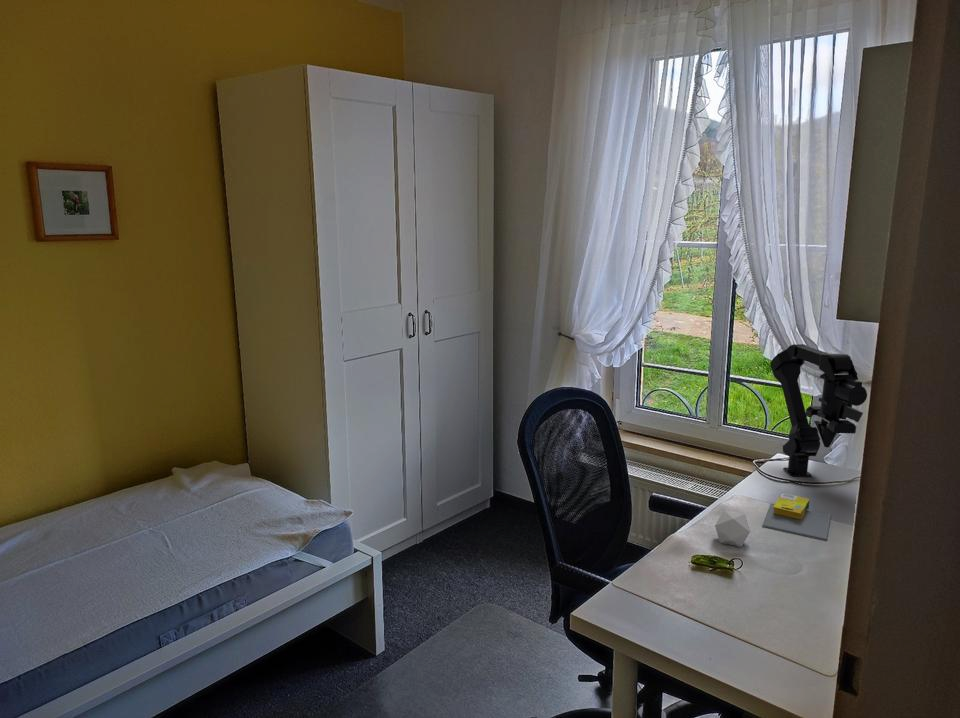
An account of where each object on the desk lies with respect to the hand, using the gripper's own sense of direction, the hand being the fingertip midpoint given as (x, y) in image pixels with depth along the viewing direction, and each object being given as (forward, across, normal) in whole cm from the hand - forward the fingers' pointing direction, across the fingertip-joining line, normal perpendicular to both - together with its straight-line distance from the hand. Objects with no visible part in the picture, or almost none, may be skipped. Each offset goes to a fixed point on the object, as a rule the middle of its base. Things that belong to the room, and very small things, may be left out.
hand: (826, 447), depth 206 cm
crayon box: (+11, -14, +14) cm, 23 cm away
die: (+13, -36, +40) cm, 55 cm away
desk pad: (+13, -24, +18) cm, 32 cm away
